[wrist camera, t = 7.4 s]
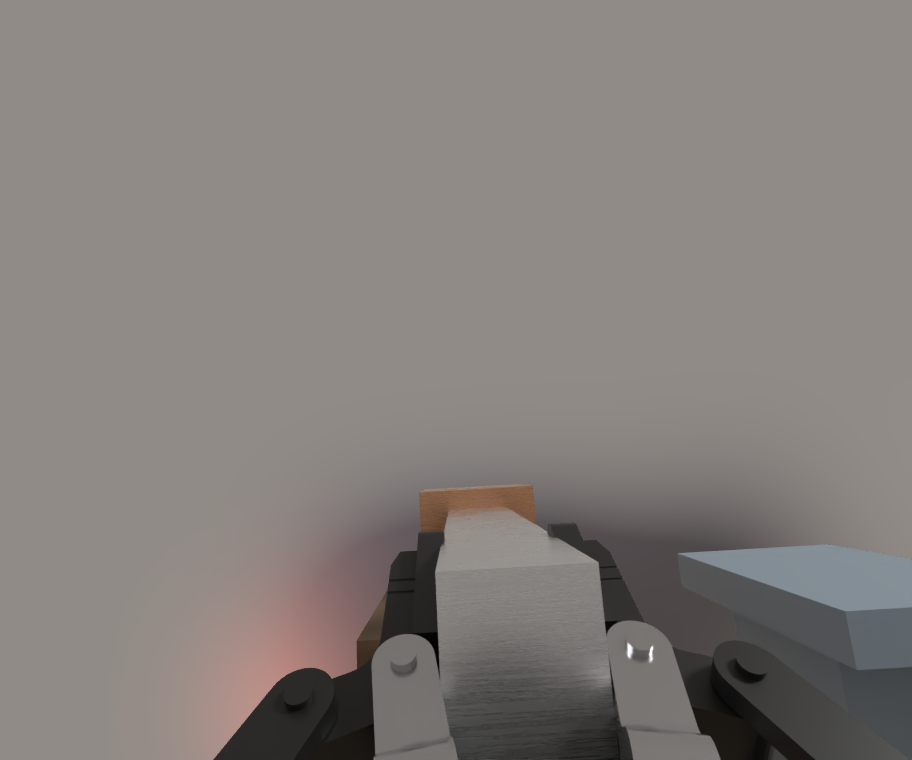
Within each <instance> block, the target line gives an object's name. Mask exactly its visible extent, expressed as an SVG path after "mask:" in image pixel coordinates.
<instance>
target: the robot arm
mask: <svg viewBox="0 0 912 760" xmlns="http://www.w3.org/2000/svg"><path fill="white" fill-rule="evenodd" d="M547 533H548V534H550V535H551V536H553V537H555V538H559V539H560V540H562V541H564V542H565V543H567V544H569V545H570V546H572V547H574V548H575V549H577V550H579V551H580V552H582V553H584V554H585V555H587V556H589V557H590V558H592V559H594V560H595V561H597V562H598V563H599V573H600V582H601V591H602V601H603V610H604V619H605V629H606V638H607V647H608V657H609V666H610V675H611V685H612V694H613V703H614V716H615V723H616V731H617V740H618V750H619V759H620V760H910V759H908V758H907V757H906V756H904V755H903V754H902V753H901V752H899V751H898V750H897V749H895V748H894V747H893V746H891V745H890V744H889V743H887V742H886V741H885V740H884V739H882V738H881V737H880V736H878V735H877V734H876V733H874V732H873V731H872V730H870V729H869V728H868V727H866V726H865V725H864V724H863V723H861V722H860V721H859V720H857V719H856V718H855V717H853V716H852V715H851V714H849V713H848V712H847V711H846V710H844V709H843V708H842V707H840V706H839V705H838V704H836V703H835V702H834V701H832V700H831V699H830V698H829V697H827V696H826V695H825V694H823V693H822V692H821V691H819V690H818V689H817V688H815V687H814V686H813V685H812V684H810V683H809V682H808V681H806V680H805V679H804V678H802V677H801V676H800V675H798V674H797V673H796V672H794V671H793V670H792V669H791V668H789V667H788V666H787V665H785V664H784V663H783V662H781V661H780V660H779V659H777V658H776V657H775V656H774V655H772V654H771V653H769V652H768V651H766V650H764V649H763V648H761V647H759V646H756V645H754V644H751V643H748V642H743V641H727V642H723V643H721V644H720V645H718V646H717V647H716V649H715V651H714V654H713V657H709V656H705V655H700V654H695V653H691V652H686V651H682V650H679V649H676V648H674V647H672V646H671V644H670V642H669V641H668V639H667V638H666V637H665V636H664V635H663V634H662V633H661V632H660V631H658V630H657V629H656V628H654V627H652V626H650V625H648V624H646V623H645V622H644V621H643V618H642V616H641V615H640V613H639V611H638V608H637V606H636V604H635V602H634V600H633V598H632V597H631V594H630V592H629V590H628V588H627V586H626V584H625V582H624V581H623V580H622V576H621V574H620V572H619V570H618V569H617V567H616V564H615V562H614V560H613V558H612V556H611V554H610V552H609V551H608V550H607V549H606V548H604V547H603V546H602V545H601V544H600V543H599V542H598V541H597V540H588V541H583V539H582V537H581V535H580V532H579V530H578V528H577V526H576V524H575V523H560V524H549V525H548V529H547ZM444 542H445V534H444V531H427V532H419V534H418V547H417V551H406V552H400V553H399V555H398V556H397V558H396V559H395V560H394V562H393V563H392V565H391V570H390V577H389V584H388V591H387V598H386V605H385V612H384V619H383V626H382V633H381V640H380V644H379V647H378V649H377V650H376V652H375V654H374V655H373V656H372V658H371V659H370V660H369V661H368V662H367V663H365V664H364V665H363V666H361V667H360V668H358V669H356V670H354V671H352V672H350V673H347V674H345V675H342V676H339V677H336V678H333V679H331V677H330V676H329V675H328V674H327V673H326V672H325V671H322V670H320V669H316V668H304V669H300V670H297V671H294V672H292V673H290V674H288V675H286V676H285V677H283V678H282V679H281V680H280V681H278V682H277V683H276V684H275V685H274V686H273V688H272V689H271V690H270V691H269V692H268V694H267V695H266V696H265V698H264V699H263V700H262V701H261V702H260V704H259V705H258V706H257V707H256V708H255V710H254V711H253V712H252V713H251V714H250V716H249V717H248V718H247V719H246V721H245V722H244V723H243V724H242V725H241V727H240V728H239V729H238V730H237V732H236V733H235V734H234V735H233V736H232V738H231V739H230V740H229V741H228V743H227V744H226V745H225V746H224V748H223V749H222V750H221V751H220V752H219V754H218V755H217V756H216V757H215V758H214V760H458V758H457V753H456V748H455V743H454V740H453V737H451V735H450V731H449V725H448V720H447V715H446V710H445V704H444V699H443V694H441V688H440V666H439V644H438V622H437V600H436V578H435V571H436V566H437V562H438V557H439V552H440V548H441V544H444Z"/></svg>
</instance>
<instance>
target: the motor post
mask: <svg viewBox="0 0 912 760" xmlns="http://www.w3.org/2000/svg"><path fill="white" fill-rule="evenodd" d="M678 561H679V568H680V575H681V583H682V586H683V587H685V588H687V589H689V590H691V591H693V592H695V593H698V594H700V595H702V596H704V597H706V598H708V599H710V600H712V601H714V602H716V603H719V604H720V605H722V606H725V607H727V608H729V609H731V610H733V613H734V620H735V626H736V633H737V639H738V641H743V642H748V643H751V644H754V645H756V646H759V647H761V648H763V649H764V650H766V651H768V652H769V653H771V654H772V655H774V656H775V657H776V658H777V659H779V660H780V661H781V662H783V663H784V664H785V665H787V666H788V667H789V668H791V669H792V670H793V671H794V672H796V673H797V674H798V675H800V676H801V677H802V678H804V679H805V680H806V681H808V682H809V683H810V684H812V685H813V686H814V687H815V688H817V689H818V690H819V691H821V692H822V693H823V694H825V695H826V696H827V697H829V698H830V699H831V700H832V701H834V702H835V703H836V704H838V705H839V706H840V707H842V708H843V709H844V710H846V711H847V712H848V713H849V714H851V715H852V716H853V717H855V718H856V719H857V720H859V721H860V722H861V723H863V724H864V725H865V726H866V727H868V728H869V729H870V730H872V731H873V732H874V733H876V734H877V735H878V736H880V737H881V738H882V739H884V740H885V741H886V742H887V743H889V744H890V745H891V746H893V747H894V748H895V749H897V750H898V751H899V752H901V753H902V754H903V755H904V756H906V757H907V758H908V759H910V760H912V559H907V558H901V557H896V556H890V555H885V554H880V553H874V552H868V551H862V550H857V549H852V548H846V547H841V546H835V545H830V544H828V545H811V546H795V547H778V548H762V549H745V550H728V551H710V552H693V553H678Z"/></svg>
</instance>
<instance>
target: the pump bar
mask: <svg viewBox="0 0 912 760" xmlns="http://www.w3.org/2000/svg"><path fill="white" fill-rule="evenodd" d="M419 498H420V523H421V532H427V531H444V534H445V542H444V544H441V548H440V552H439V557H438V562H437V566H436V571H435V578H436V600H437V622H438V644H439V666H440V688H441V694H443V699H444V704H445V710H446V715H447V720H448V725H449V731H450V735H451V737H453V740H454V743H455V748H456V753H457V758H458V760H620V759H619V750H618V740H617V731H616V723H615V716H614V703H613V694H612V685H611V675H610V666H609V657H608V647H607V638H606V629H605V619H604V610H603V601H602V591H601V582H600V573H599V563H598V562H597V561H595V560H594V559H592V558H590V557H589V556H587V555H585V554H584V553H582V552H580V551H579V550H577V549H575V548H574V547H572V546H570V545H569V544H567V543H565V542H564V541H562V540H560V539H559V538H555V537H553V536H551V535H550V534H548V533H547V531H545V530H543V529H542V528H540V527H539V526H537V525H536V520H535V508H534V496H533V486H531V485H522V484H512V485H494V486H477V487H460V488H444V489H443V488H442V489H426V490H424V491H421V492H419Z"/></svg>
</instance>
